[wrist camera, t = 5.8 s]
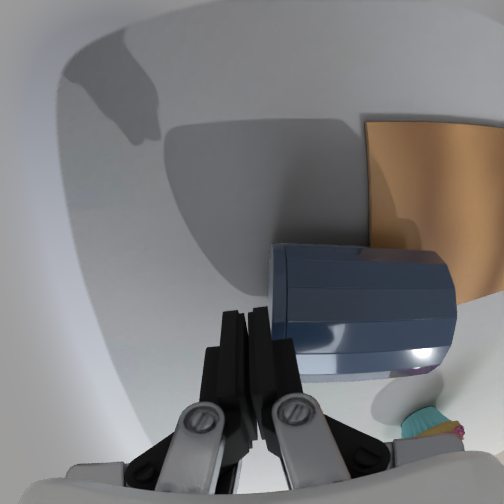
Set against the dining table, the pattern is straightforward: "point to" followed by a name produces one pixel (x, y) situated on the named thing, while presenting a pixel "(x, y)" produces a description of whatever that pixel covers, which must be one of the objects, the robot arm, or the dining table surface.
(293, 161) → the dining table surface
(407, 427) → the cupcake
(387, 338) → the cup
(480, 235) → the placemat
